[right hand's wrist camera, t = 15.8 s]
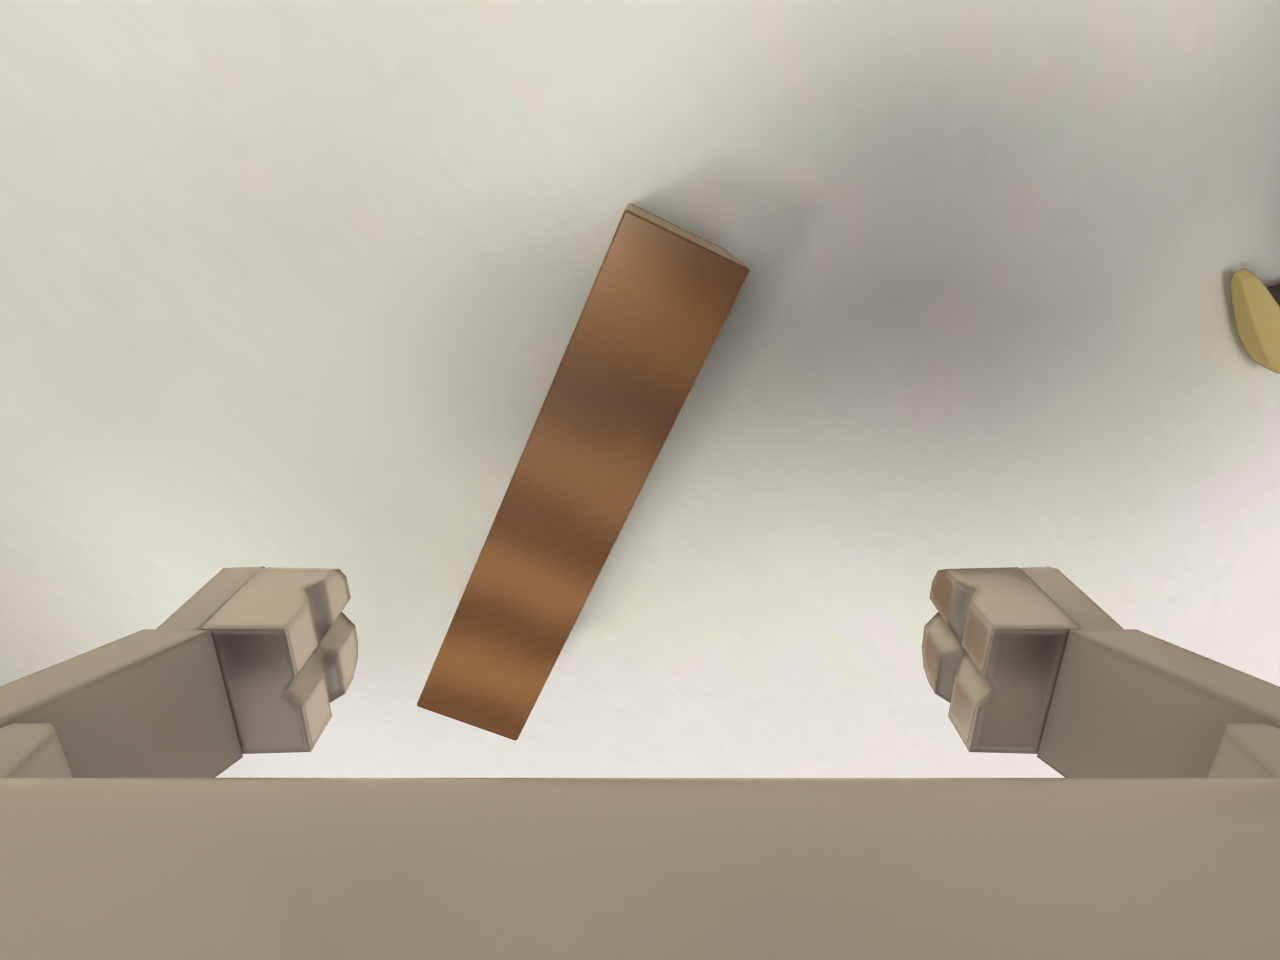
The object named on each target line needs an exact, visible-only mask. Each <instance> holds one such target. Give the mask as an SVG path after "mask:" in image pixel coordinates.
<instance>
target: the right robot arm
mask: <svg viewBox="0 0 1280 960" xmlns="http://www.w3.org/2000/svg"><path fill="white" fill-rule="evenodd" d="M349 599H350V593H349V588H348V583H347V579H346V576H345V575H344V574H343V572H342V571H341V570H340V569H320V568H265V567H237V568H224V569H222V570H221V571H220V572H219V573H218V574H217V575H216V576H214V577H213V578H212V579H211V580H210V581H209V582H208V583H207V584H206V585H205V586H203V587H202V588H201V589H200V590H199V591H198V592H197V593H196V594H195V595H193V596H192V597H191V598H190V599H189V600H188V601H187V602H186V603H185V604H184V605H182V606H181V607H180V608H179V609H178V610H177V611H176V612H175V613H174V614H172V615H171V616H170V617H169V618H168V619H167V620H166V621H165V622H164V623H163V624H161V625H160V626H159V627H158V628H157V629H156V630H141V631H139V632H136V633H134V634H131V635H129V636H126V637H124V638H121V639H119V640H116V641H114V642H111V643H109V644H106V645H104V646H101V647H99V648H96V649H94V650H91V651H89V652H86V653H84V654H81V655H79V656H76V657H74V658H71V659H69V660H66V661H64V662H61V663H59V664H56V665H54V666H51V667H49V668H46V669H44V670H41V671H39V672H36V673H34V674H31V675H29V676H26V677H24V678H21V679H19V680H16V681H14V682H11V683H9V684H6V685H4V686H1V687H0V960H1280V687H1279V686H1276V685H1274V684H1271V683H1269V682H1266V681H1264V680H1261V679H1259V678H1256V677H1254V676H1251V675H1249V674H1246V673H1244V672H1241V671H1239V670H1236V669H1234V668H1231V667H1229V666H1226V665H1224V664H1221V663H1219V662H1216V661H1214V660H1211V659H1209V658H1206V657H1204V656H1201V655H1199V654H1196V653H1194V652H1191V651H1189V650H1186V649H1184V648H1181V647H1179V646H1176V645H1174V644H1171V643H1169V642H1166V641H1164V640H1161V639H1159V638H1156V637H1154V636H1151V635H1149V634H1146V633H1144V632H1141V631H1139V630H1124V629H1123V628H1122V627H1121V626H1120V625H1119V624H1118V623H1116V622H1115V621H1114V620H1113V619H1112V618H1111V617H1110V616H1109V615H1108V614H1107V613H1105V612H1104V611H1103V610H1102V609H1101V608H1100V607H1099V606H1098V605H1097V604H1096V603H1094V602H1093V601H1092V600H1091V599H1090V598H1089V597H1088V596H1087V595H1086V594H1085V593H1083V592H1082V591H1081V590H1080V589H1079V588H1078V587H1077V586H1076V585H1075V584H1073V583H1072V582H1071V581H1070V580H1069V579H1068V578H1067V577H1066V576H1065V575H1064V574H1062V573H1061V572H1060V571H1059V570H1058V569H1055V568H1051V567H1027V568H1018V567H1010V568H968V569H944V570H938V571H937V573H936V575H935V577H934V579H933V582H932V587H931V592H930V599H931V601H932V603H933V604H934V606H935V607H936V609H937V610H938V613H937V614H936V615H935V616H934V617H933V618H932V619H931V620H930V621H929V622H928V623H927V624H926V625H925V627H924V635H923V642H922V654H923V665H924V670H925V673H926V676H927V679H928V682H929V683H930V685H931V687H932V689H933V691H934V693H935V694H937V695H938V696H940V697H942V698H943V699H945V700H946V701H948V702H950V709H949V714H948V717H949V718H950V720H951V722H952V723H953V725H954V727H955V729H956V730H957V732H958V734H959V735H960V737H961V739H962V740H963V742H964V744H965V745H966V747H967V749H968V750H969V752H991V753H1028V754H1038V755H1037V757H1038V758H1040V759H1041V760H1042V761H1044V762H1045V763H1046V764H1048V765H1049V766H1050V767H1052V768H1053V769H1054V770H1056V771H1057V772H1059V773H1060V774H1061V775H1063V776H1064V777H1065V778H215V777H216V776H218V775H219V774H220V773H222V772H223V771H224V770H226V769H227V768H228V767H230V766H231V765H233V764H234V763H235V762H237V761H238V760H239V759H241V758H242V757H243V755H242V754H252V753H288V752H311V751H312V749H313V747H314V746H315V744H316V742H317V740H318V739H319V737H320V735H321V734H322V732H323V730H324V729H325V727H326V725H327V723H328V722H329V720H330V718H331V717H332V714H331V709H330V702H332V701H334V700H335V699H337V698H338V697H340V696H342V695H343V694H345V693H346V691H347V689H348V687H349V685H350V683H351V681H352V680H353V676H354V672H355V668H356V664H357V659H358V640H357V633H356V627H355V625H354V624H353V623H352V622H351V621H350V620H349V619H348V618H347V617H346V616H345V615H344V614H343V613H342V610H343V609H344V607H345V606H346V604H347V603H348V601H349Z"/></svg>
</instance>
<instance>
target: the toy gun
mask: <svg viewBox="0 0 1280 960" xmlns="http://www.w3.org/2000/svg"><path fill="white" fill-rule="evenodd" d="M1231 292H1232V302H1233V308H1234V315H1235V321H1236V326H1237V330H1238V333H1239V336H1240V339H1241V341H1242V343H1243V345H1244V347H1245V349H1246V351H1247V353H1248V354H1249V355H1250V356H1251V357H1252V359H1253V360H1254V361H1256V362H1257V363H1258V364H1259V365H1261V366H1263V367H1264V368H1267V369H1269V370H1271V371H1273V372H1275V373H1280V286H1278V287H1272V288H1267V287H1265V285H1264V284H1263V283H1262V281H1260V280H1259V279H1258V278H1257V277H1256V276H1255V275H1254V274H1252V273H1251V272H1250V271H1248V270H1246V269H1240V270H1239V271H1237V272H1235V273H1234V275H1233V277H1232V280H1231Z"/></svg>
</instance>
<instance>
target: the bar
mask: <svg viewBox="0 0 1280 960" xmlns="http://www.w3.org/2000/svg"><path fill="white" fill-rule="evenodd" d="M748 273H749V269H748V268H747V267H746V266H745V265H744V264H742V263H741V262H740V261H738V260H737V259H736V258H735V257H733V256H732V255H731V254H730V253H728V252H727V251H726V250H725V249H723V248H721V247H719V246H717V245H715V244H712V243H710V242H708V241H706V240H704V239H702V238H700V237H698V236H696V235H694V234H692V233H690V232H688V231H686V230H684V229H682V228H680V227H678V226H675V225H673V224H671V223H669V222H667V221H665V220H663V219H661V218H659V217H657V216H655V215H653V214H651V213H649V212H647V211H645V210H643V209H641V208H638V207H636V206H634V205H632V204H628V205H627V207H626V209H625V211H624V213H623V215H622V218H621V220H620V223H619V225H618V227H617V230H616V232H615V234H614V237H613V239H612V242H611V244H610V246H609V249H608V251H607V253H606V256H605V258H604V261H603V263H602V265H601V268H600V270H599V273H598V275H597V277H596V280H595V282H594V284H593V287H592V289H591V292H590V294H589V296H588V299H587V301H586V303H585V306H584V308H583V311H582V313H581V315H580V318H579V320H578V322H577V325H576V327H575V330H574V332H573V334H572V337H571V339H570V341H569V344H568V346H567V349H566V351H565V353H564V356H563V358H562V360H561V363H560V365H559V368H558V370H557V372H556V375H555V377H554V379H553V382H552V384H551V387H550V389H549V391H548V394H547V396H546V399H545V401H544V403H543V406H542V408H541V410H540V413H539V415H538V418H537V420H536V422H535V425H534V427H533V429H532V432H531V434H530V437H529V439H528V441H527V444H526V446H525V448H524V451H523V453H522V456H521V458H520V460H519V463H518V465H517V467H516V470H515V472H514V475H513V477H512V479H511V482H510V484H509V486H508V489H507V491H506V494H505V496H504V498H503V501H502V503H501V506H500V508H499V510H498V513H497V515H496V517H495V520H494V522H493V525H492V527H491V529H490V532H489V534H488V536H487V539H486V541H485V544H484V546H483V548H482V551H481V553H480V555H479V558H478V560H477V563H476V565H475V567H474V570H473V572H472V574H471V577H470V579H469V582H468V584H467V586H466V589H465V591H464V593H463V596H462V598H461V601H460V603H459V605H458V608H457V610H456V612H455V615H454V617H453V620H452V622H451V624H450V627H449V629H448V632H447V634H446V636H445V639H444V641H443V643H442V646H441V648H440V651H439V653H438V655H437V658H436V660H435V662H434V665H433V667H432V670H431V672H430V674H429V677H428V679H427V681H426V684H425V686H424V689H423V691H422V693H421V696H420V698H419V700H418V703H417V706H419V707H421V708H424V709H427V710H430V711H433V712H436V713H438V714H441V715H444V716H447V717H450V718H453V719H456V720H458V721H461V722H464V723H467V724H470V725H473V726H476V727H478V728H481V729H484V730H487V731H490V732H493V733H495V734H498V735H501V736H504V737H507V738H510V739H513V740H517V739H518V737H519V735H520V733H521V731H522V729H523V727H524V725H525V723H526V721H527V719H528V717H529V715H530V713H531V711H532V709H533V707H534V705H535V703H536V701H537V699H538V697H539V695H540V693H541V691H542V689H543V687H544V684H545V682H546V680H547V678H548V676H549V674H550V672H551V670H552V668H553V666H554V664H555V662H556V660H557V658H558V656H559V654H560V652H561V650H562V648H563V646H564V644H565V642H566V640H567V638H568V636H569V634H570V632H571V630H572V628H573V626H574V624H575V622H576V620H577V618H578V616H579V614H580V612H581V610H582V608H583V606H584V604H585V602H586V600H587V598H588V596H589V594H590V592H591V590H592V588H593V586H594V584H595V582H596V580H597V578H598V575H599V573H600V571H601V569H602V567H603V565H604V563H605V561H606V559H607V557H608V555H609V553H610V551H611V549H612V547H613V545H614V543H615V541H616V539H617V537H618V535H619V533H620V531H621V529H622V527H623V525H624V523H625V521H626V519H627V517H628V515H629V513H630V511H631V509H632V507H633V505H634V503H635V501H636V499H637V497H638V495H639V493H640V491H641V489H642V487H643V485H644V483H645V481H646V479H647V477H648V475H649V473H650V471H651V469H652V466H653V464H654V462H655V460H656V458H657V456H658V454H659V452H660V450H661V448H662V446H663V444H664V442H665V440H666V438H667V436H668V434H669V432H670V430H671V428H672V426H673V424H674V422H675V420H676V418H677V416H678V414H679V412H680V410H681V408H682V406H683V404H684V402H685V400H686V398H687V396H688V394H689V392H690V390H691V388H692V386H693V384H694V382H695V380H696V378H697V376H698V374H699V372H700V370H701V368H702V366H703V364H704V362H705V360H706V357H707V355H708V353H709V351H710V349H711V347H712V345H713V343H714V341H715V339H716V337H717V335H718V333H719V331H720V329H721V327H722V325H723V323H724V321H725V319H726V317H727V315H728V313H729V311H730V309H731V307H732V305H733V303H734V301H735V299H736V297H737V295H738V293H739V291H740V289H741V287H742V285H743V283H744V281H745V279H746V277H747V275H748Z"/></svg>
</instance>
